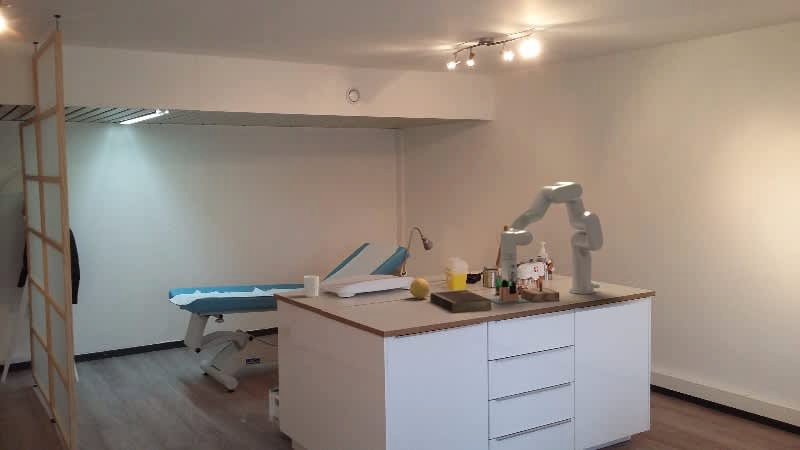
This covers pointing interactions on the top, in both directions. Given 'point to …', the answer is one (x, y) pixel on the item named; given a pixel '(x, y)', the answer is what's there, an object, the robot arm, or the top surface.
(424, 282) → the stress ball
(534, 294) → the stand
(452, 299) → the hardback book
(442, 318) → the top surface
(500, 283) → the food container
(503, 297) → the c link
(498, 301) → the mat
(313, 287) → the white cup
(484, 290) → the top surface
